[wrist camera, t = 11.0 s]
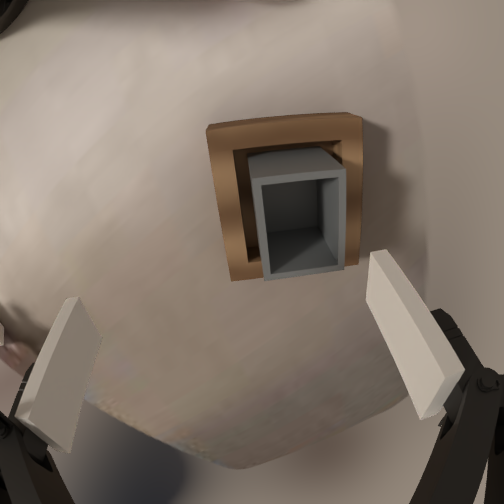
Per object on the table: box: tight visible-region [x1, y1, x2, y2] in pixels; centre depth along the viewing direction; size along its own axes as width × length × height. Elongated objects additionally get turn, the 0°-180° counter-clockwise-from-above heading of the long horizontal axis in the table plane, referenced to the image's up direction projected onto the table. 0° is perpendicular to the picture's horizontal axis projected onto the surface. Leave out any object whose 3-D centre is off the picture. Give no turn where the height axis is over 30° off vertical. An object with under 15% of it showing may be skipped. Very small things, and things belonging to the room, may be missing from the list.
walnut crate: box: [206, 112, 363, 281], centre depth 31 cm, size 15×14×4 cm
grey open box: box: [247, 146, 346, 281], centre depth 28 cm, size 9×7×8 cm
